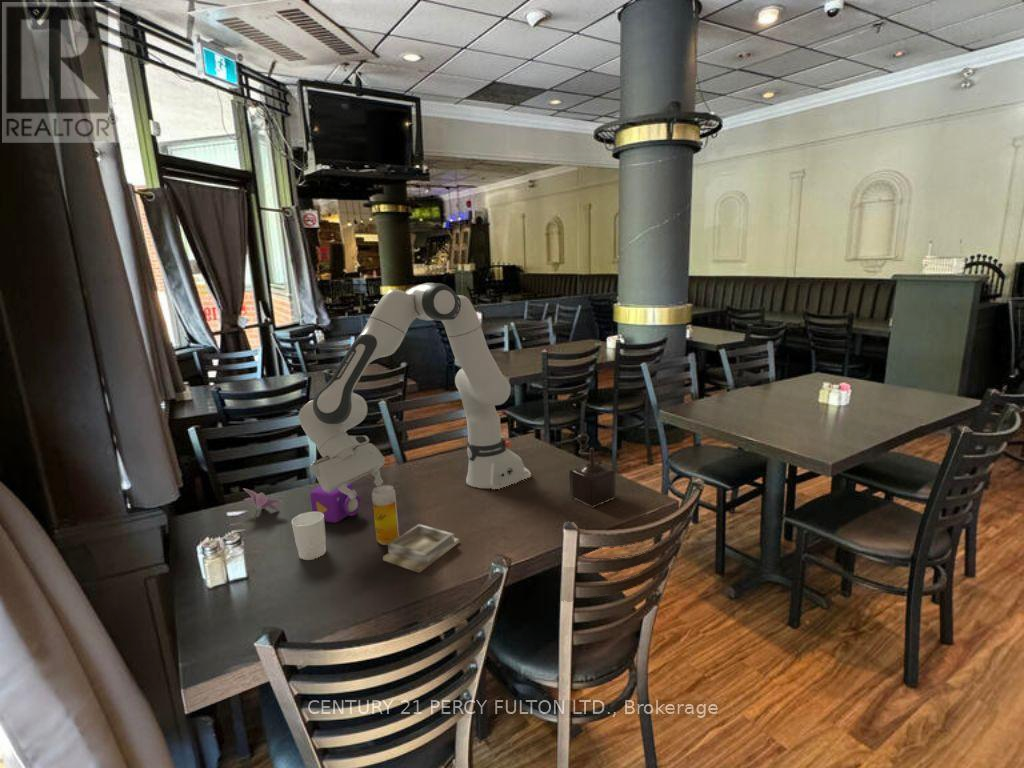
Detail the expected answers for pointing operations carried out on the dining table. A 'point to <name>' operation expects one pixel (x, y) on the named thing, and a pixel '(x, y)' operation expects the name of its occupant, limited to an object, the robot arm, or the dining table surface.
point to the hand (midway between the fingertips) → (367, 490)
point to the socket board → (419, 547)
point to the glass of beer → (385, 514)
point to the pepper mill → (591, 478)
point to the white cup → (309, 535)
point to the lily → (262, 500)
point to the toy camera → (334, 504)
